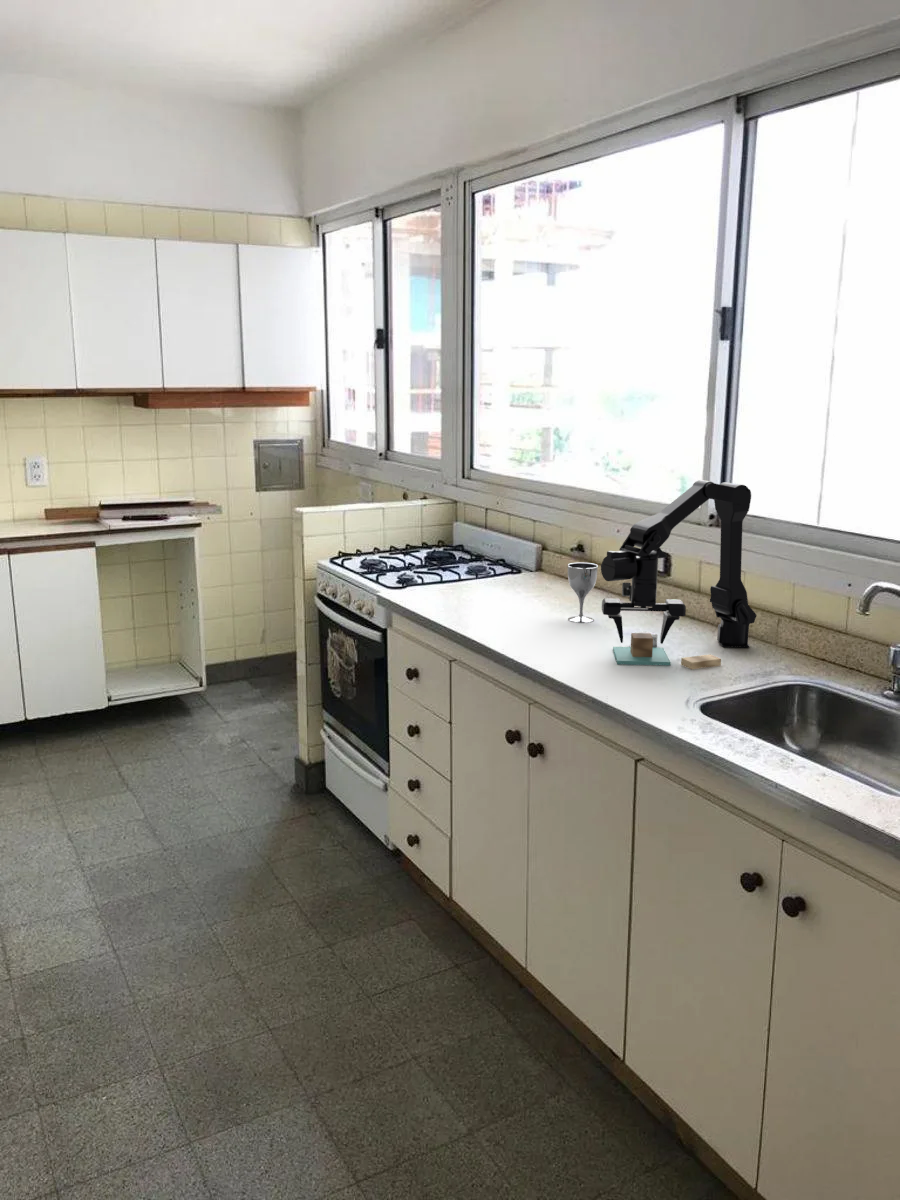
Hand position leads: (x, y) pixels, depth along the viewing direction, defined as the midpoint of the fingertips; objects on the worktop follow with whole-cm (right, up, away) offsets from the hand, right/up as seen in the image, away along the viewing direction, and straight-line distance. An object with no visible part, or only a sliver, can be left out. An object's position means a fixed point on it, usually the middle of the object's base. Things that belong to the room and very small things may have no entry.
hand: (641, 642), depth 228 cm
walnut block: (0, -3, +1) cm, 3 cm away
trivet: (0, -3, +1) cm, 4 cm away
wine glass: (-9, +5, +36) cm, 37 cm away
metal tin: (+3, -1, +10) cm, 11 cm away
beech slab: (+13, -5, -5) cm, 14 cm away
